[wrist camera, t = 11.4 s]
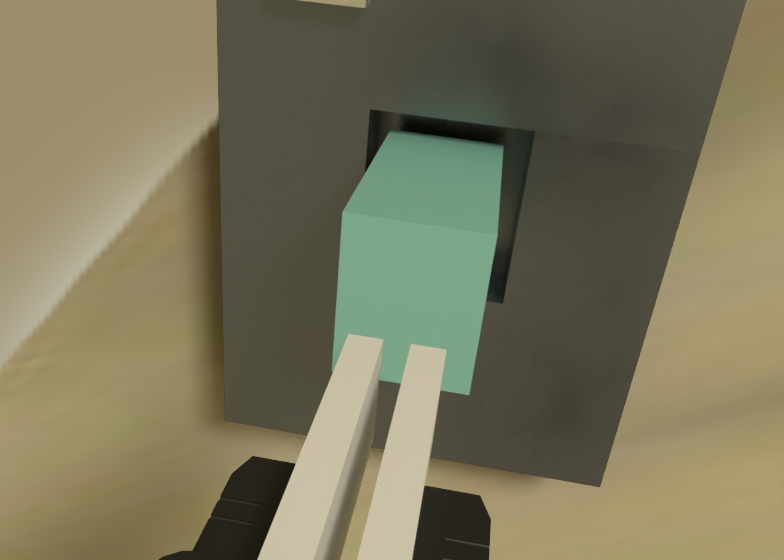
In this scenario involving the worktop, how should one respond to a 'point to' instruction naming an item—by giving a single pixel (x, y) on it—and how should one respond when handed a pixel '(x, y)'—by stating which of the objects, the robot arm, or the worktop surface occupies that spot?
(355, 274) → the plug
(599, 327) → the socket
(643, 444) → the worktop surface
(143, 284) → the worktop surface
